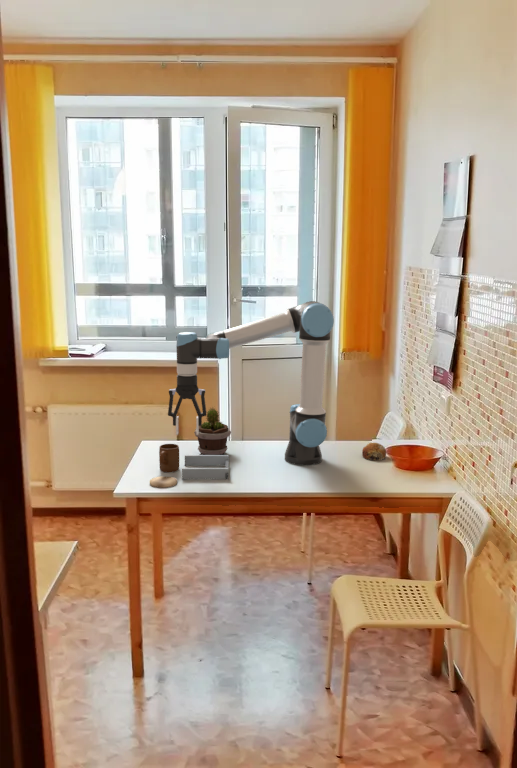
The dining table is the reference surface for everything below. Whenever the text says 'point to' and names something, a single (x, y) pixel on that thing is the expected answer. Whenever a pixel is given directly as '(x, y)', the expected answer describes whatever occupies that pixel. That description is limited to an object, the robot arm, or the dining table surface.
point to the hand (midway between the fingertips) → (187, 433)
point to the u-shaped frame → (206, 472)
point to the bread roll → (374, 451)
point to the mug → (169, 458)
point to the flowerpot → (212, 435)
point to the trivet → (163, 482)
